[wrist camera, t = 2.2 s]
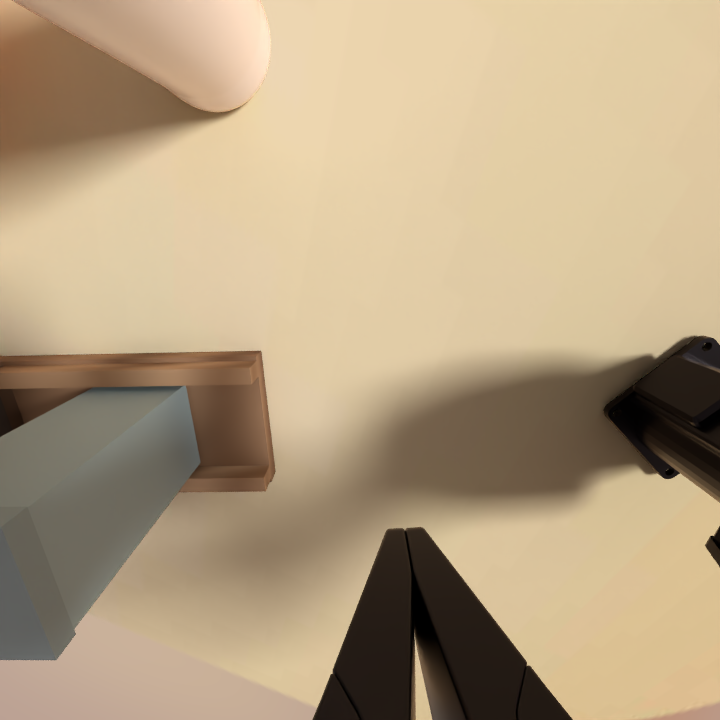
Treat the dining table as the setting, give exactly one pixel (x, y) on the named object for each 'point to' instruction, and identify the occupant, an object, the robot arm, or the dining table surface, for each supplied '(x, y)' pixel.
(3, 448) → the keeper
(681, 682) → the dining table surface
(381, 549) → the robot arm
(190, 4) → the drinking glass
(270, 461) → the track
